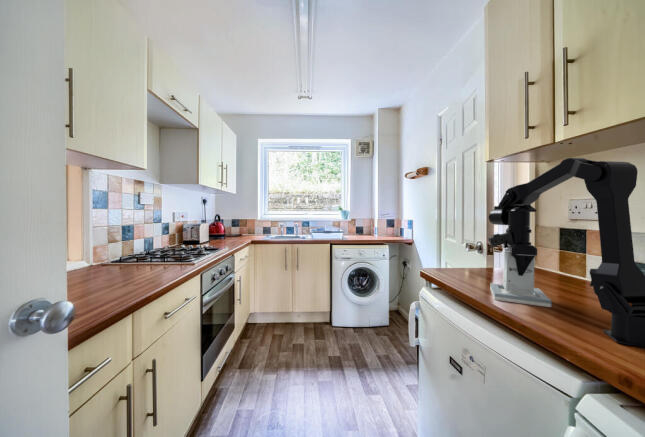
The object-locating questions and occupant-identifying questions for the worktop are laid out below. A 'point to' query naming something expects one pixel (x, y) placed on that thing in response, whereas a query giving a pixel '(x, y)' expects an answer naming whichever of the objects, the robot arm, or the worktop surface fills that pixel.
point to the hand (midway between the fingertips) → (518, 273)
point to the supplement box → (517, 276)
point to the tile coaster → (520, 296)
